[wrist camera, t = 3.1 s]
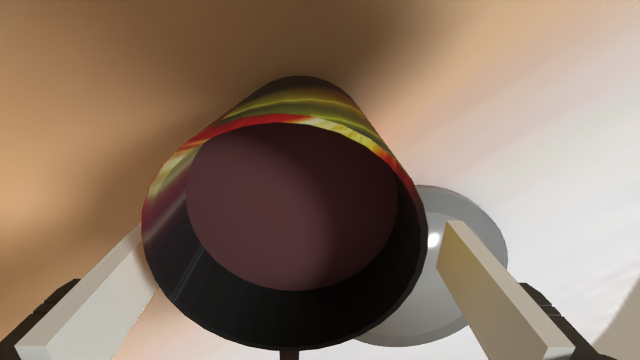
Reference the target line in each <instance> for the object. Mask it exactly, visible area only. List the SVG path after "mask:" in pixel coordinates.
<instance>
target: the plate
mask: <svg viewBox="0 0 640 360" xmlns="http://www.w3.org/2000/svg"><path fill="white" fill-rule="evenodd" d="M415 187H416V189H417V191H418V193H419V195H420V197H421V199H422V202H423V204H424V208H425V213H426V218H427V223H428V227H429V230H428V252H427V256H426V260H425V263H424V267H423V271H422V274H421V275H420V277H419V279H418V281H417V283H416V285H415V287H414V289H413V291H412V293H411V294H410V295H409V296H408V297H407V299H406V300H405V301H404V302H403V304H402V305H401V306H400V307H399V308H398V310H396V311H395V312H394V313H393V314H392V315H391V316H389V317H388V318H387V319H386V320H385V321H383V322H382V323H381V324H380V325H378V326H376V327H375V328H373V329H371V330H369V331H368V332H366V333H364V334H363V335H361V336H358V337H356V338H353V339H356V340H358V341H361V342H364V343H368V344H372V345H378V346H386V347H407V346H415V345H421V344H425V343H430V342H433V341H436V340H439V339H442V338H444V337H447V336H449V335H451V334H453V333H455V332H457V331H459V330H461V329H462V328H464V327H466V326H467V325H469V324H468V323H467V321H466V319H465V317H464V316H463V314H462V312H461V310H460V309H459V307H458V305H457V304H456V302H455V300H454V298H453V297H452V295H451V293H450V291H449V290H448V288H447V286H446V284H445V283H444V281H443V279H442V278H441V276H440V274H439V272H438V271H437V269H436V263H437V259H438V255H439V250H440V246H441V242H442V238H443V233H444V229H445V225H446V220H454V221H463V222H464V223H465V224H466V225H467V226H468V228H469V229H470V230H471V231H472V232H473V233H474V234H475V235H476V236H477V238H478V239H479V240H480V241H481V242H482V243H483V244H484V245H485V247H486V248H487V249H488V250H489V251H490V252H491V253H492V254H493V255H494V257H495V258H496V259H497V260H498V261H499V262H500V263H501V264H502V265H503V267H504V268H505V269H506V270H507V263H508V256H507V248H506V244H505V240H504V238H503V236H502V233H501V231H500V230H499V228H498V227H497V225H496V224H495V222H494V221H493V220H492V219H491V218H490V217H489V216H488V215H487V214H486V213H485V212H484V211H483V210H482V209H481V208H480V207H479V206H478V205H476V204H475V203H474V202H472V201H471V200H470V199H468V198H466V197H464V196H462V195H461V194H459V193H456V192H453V191H451V190H448V189H444V188H440V187H435V186H426V185H415Z"/></svg>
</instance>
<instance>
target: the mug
mask: <svg viewBox="0 0 640 360" xmlns="http://www.w3.org/2000/svg"><path fill="white" fill-rule="evenodd" d="M428 230H429V227H428V223H427V218H426V213H425V208H424V204H423V202H422V199H421V197H420V195H419V193H418V191H417V189H416V187H415V185H414V183H413V181H412V179H411V178H410V176H409V175H408V174H407V172H406V171H405V170H404V168H403V167H402V165H401V164H400V163H399V161H398V160H397V159H396V157H395V156H394V155H393V153H392V152H391V151H390V149H389V148H388V146H387V145H386V144H385V142H384V141H383V140H382V138H381V137H380V136H379V134H378V133H377V132H376V130H375V129H374V127H373V126H372V125H371V123H370V122H369V121H368V119H367V118H366V117H365V115H364V114H363V112H362V111H361V110H360V108H359V107H358V106H357V105H356V103H355V102H354V101H353V100H352V98H351V97H350V96H349V95H347V94H346V93H345V92H344V91H343V90H341V89H340V88H339V87H337V86H335V85H333V84H331V83H329V82H327V81H325V80H321V79H318V78H314V77H307V76H292V77H285V78H281V79H278V80H275V81H272V82H270V83H268V84H266V85H265V86H263V87H261V88H260V89H258V90H257V91H255V92H254V93H253V94H251V95H250V96H249V97H247V98H246V99H244V100H243V101H242V102H240V103H239V104H238V105H236V106H235V107H234V108H232V109H231V110H230V111H228V112H227V113H225V114H224V115H223V116H221V117H220V118H219V119H217V120H216V121H215V122H213V123H212V124H210V125H209V126H208V127H206V128H205V129H204V130H202V131H201V132H200V133H198V134H197V135H195V136H194V137H193V138H191V139H190V140H189V141H187V142H186V143H185V144H184V145H183V146H181V147H180V148H179V149H178V150H177V151H176V152H175V153H174V154H173V155H172V156H171V157H170V158H169V159H168V160H167V161H166V162H165V163H164V164H163V166H162V167H161V169H160V171H159V172H158V174H157V176H156V177H155V179H154V180H153V182H152V184H151V185H150V187H149V190H148V193H147V197H146V200H145V203H144V206H143V210H142V221H141V239H142V244H143V249H144V254H145V259H146V261H147V264H148V266H149V268H150V270H151V273H152V275H153V277H154V279H155V281H156V282H157V284H158V285H159V287H160V288H161V290H162V291H163V292H164V294H165V295H166V297H167V298H168V299H169V300H170V301H171V302H172V303H173V304H174V305H175V306H176V307H177V308H178V309H179V310H180V311H181V312H182V313H183V314H184V315H185V316H187V317H188V318H189V319H191V320H192V321H194V322H195V323H197V324H198V325H200V326H201V327H203V328H204V329H206V330H208V331H210V332H212V333H214V334H216V335H218V336H220V337H222V338H224V339H227V340H230V341H233V342H236V343H239V344H242V345H245V346H249V347H254V348H260V349H266V350H273V351H280V360H299V351H303V350H314V349H320V348H325V347H329V346H333V345H337V344H341V343H343V342H346V341H348V340H351V339H353V338H356V337H358V336H361V335H363V334H364V333H366V332H368V331H369V330H371V329H373V328H375V327H376V326H378V325H380V324H381V323H382V322H383V321H385V320H386V319H387V318H388V317H389V316H391V315H392V314H393V313H394V312H395V311H396V310H398V308H399V307H400V306H401V305H402V304H403V302H404V301H405V300H406V299H407V297H408V296H409V295H410V294H411V293H412V291H413V289H414V287H415V285H416V283H417V281H418V279H419V277H420V275H421V274H422V271H423V267H424V263H425V260H426V256H427V252H428Z"/></svg>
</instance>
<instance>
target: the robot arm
mask: <svg viewBox="0 0 640 360" xmlns="http://www.w3.org/2000/svg"><path fill="white" fill-rule="evenodd" d="M141 221H142V220H141ZM141 221H140V222H139V223H138V224H137V225H136V226H135V227H134V228H133V229H132V230H131V231H130V232H129V233H128V234H127V235H126V236H125V237H124V238H123V239H122V240H121V241H120V242H119V243H118V244H117V245H116V246H115V247H114V248H113V249H112V250H111V251H110V252H109V253H108V254H107V255H106V256H105V257H104V258H103V259H102V260H101V261H100V262H99V263H98V264H97V265H96V266H95V267H94V268H93V269H92V270H91V271H90V272H89V273H87V274H86V275H85V276H84V277H83V278H82V279H73V280H72V281H70V282H68V283H67V284H65V285H63V286H62V287H60V288H58V289H57V290H56V291H55V292H54V293H53V294H51V295H50V296H49V297H48V298H47V299H46V300H45V301H44V303H43V304H41V305H40V306H39V307H37V308H36V309H35V310H34V311H33V314H30V315H29V316H28V317H27V318H26V319H25V320H24V321H22V322H21V323H20V324H19V325H18V326H17V327H16V328H15V329H14V330H13V331H12V332H11V333H10V334H8V335H7V336H6V337H5V338H4V339H3V340H2V341H1V342H0V360H111V359H112V357H113V356H114V354H115V353H116V351H117V350H118V348H119V347H120V345H121V344H122V342H123V341H124V339H125V337H126V336H127V334H128V333H129V331H130V330H131V328H132V327H133V325H134V324H135V322H136V321H137V319H138V318H139V316H140V314H141V313H142V311H143V310H144V308H145V307H146V305H147V304H148V302H149V301H150V299H151V298H152V296H153V295H154V293H155V291H156V290H157V288H158V287H159V285H158V284H157V282H156V281H155V279H154V277H153V275H152V273H151V270H150V268H149V266H148V264H147V261H146V259H145V254H144V249H143V244H142V239H141ZM436 269H437V271H438V272H439V274H440V276H441V278H442V279H443V281H444V283H445V284H446V286H447V288H448V290H449V291H450V293H451V295H452V297H453V298H454V300H455V302H456V304H457V305H458V307H459V309H460V310H461V312H462V314H463V316H464V317H465V319H466V321H467V323H468V324H469V326H470V328H471V330H472V331H473V333H474V335H475V336H476V338H477V340H478V342H479V343H480V345H481V347H482V349H483V350H484V352H485V354H486V356H487V357H488V359H489V360H617V359H615V358H612V357H609V356H606V355H601V354H598V353H597V351H596V350H595V349H594V348H593V347H592V346H591V345H590V344H589V343H588V342H587V341H586V340H585V339H584V338H583V337H582V336H581V335H580V334H579V333H578V332H577V330H576V329H575V328H574V327H573V326H572V325H571V324H570V323H569V322H568V321H567V320H566V319H565V318H564V317H562V316H561V314H560V313H559V312H558V311H557V309H556V308H555V307H552V304H551V303H550V302H549V301H548V300H547V299H546V298H545V297H544V296H543V295H542V294H541V293H540V292H539V291H537V290H536V289H534V288H533V287H531V286H530V285H528V284H527V283H518V282H517V281H516V280H515V279H514V278H513V277H512V276H511V274H510V273H509V272H508V271H507V270H506V269H505V268H504V267H503V265H502V264H501V263H500V262H499V261H498V260H497V259H496V258H495V257H494V255H493V254H492V253H491V252H490V251H489V250H488V249H487V248H486V247H485V245H484V244H483V243H482V242H481V241H480V240H479V239H478V238H477V236H476V235H475V234H474V233H473V232H472V231H471V230H470V229H469V228H468V226H467V225H466V224H465V223H464V222H463V221H454V220H446V225H445V229H444V233H443V238H442V242H441V246H440V250H439V255H438V259H437V263H436Z"/></svg>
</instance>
